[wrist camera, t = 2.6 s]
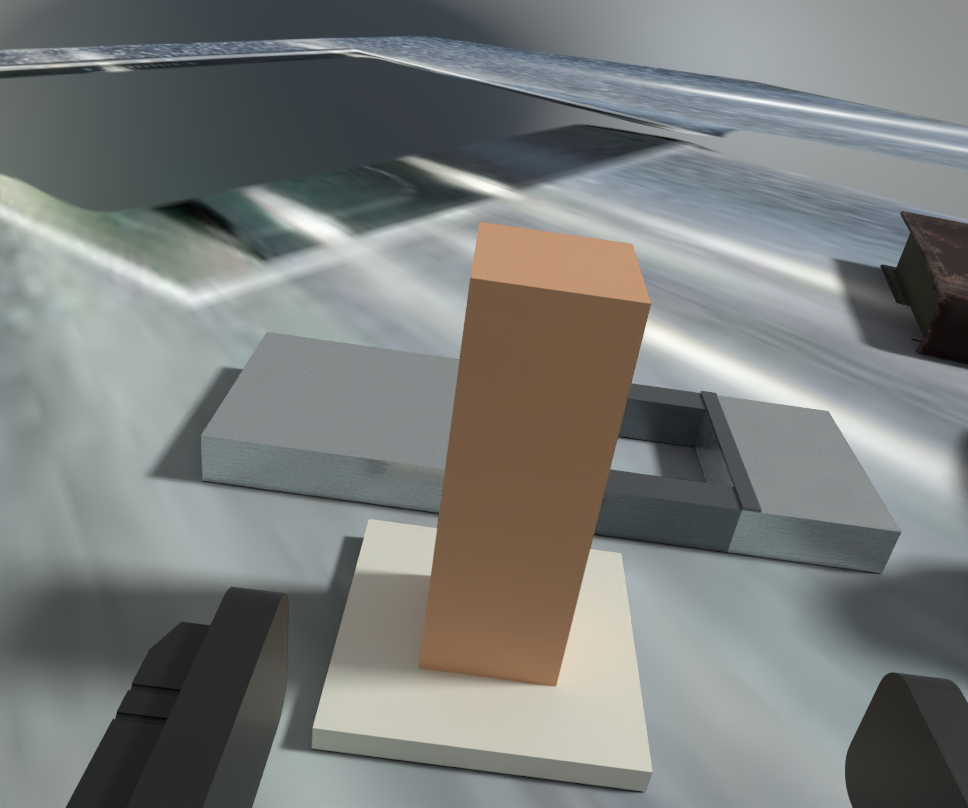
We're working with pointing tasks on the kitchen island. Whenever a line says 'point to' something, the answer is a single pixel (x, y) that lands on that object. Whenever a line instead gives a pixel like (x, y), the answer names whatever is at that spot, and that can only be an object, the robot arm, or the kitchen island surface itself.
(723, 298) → the kitchen island surface
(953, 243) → the diary
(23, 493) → the kitchen island surface
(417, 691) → the pad
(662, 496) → the grey slotted base
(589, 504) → the block
